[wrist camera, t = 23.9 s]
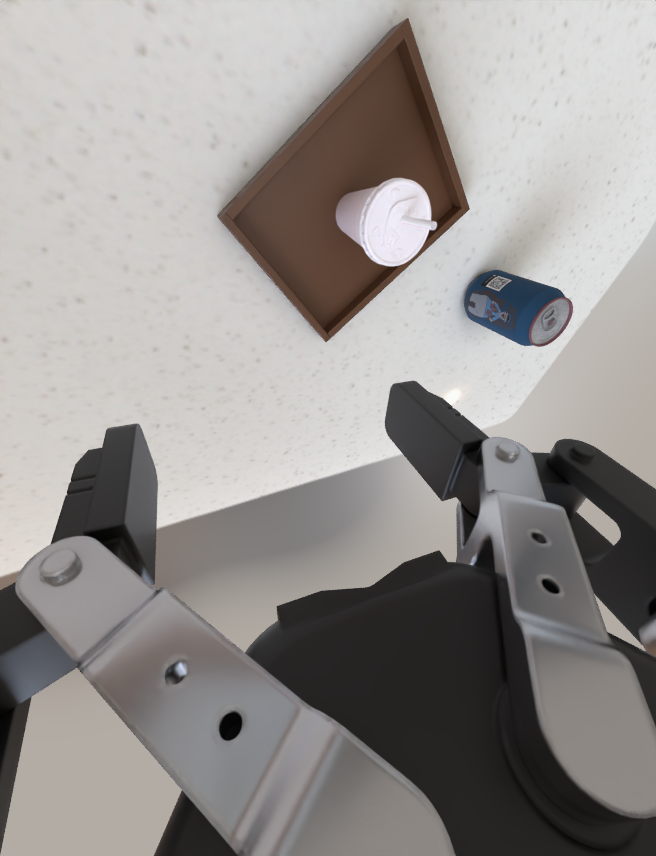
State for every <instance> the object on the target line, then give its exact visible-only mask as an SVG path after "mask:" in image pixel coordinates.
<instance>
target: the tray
mask: <svg viewBox="0 0 656 856" xmlns="http://www.w3.org/2000/svg"><path fill="white" fill-rule="evenodd" d="M392 178H404V179H409V180H412V181H415V182H416V183H418V184H419V185H420V186H421V187H422V188H423V189H424V190H425V192H426V193H427V196H428V198H429V201H430V205H431V221H435V222H436V223H437V227H436V229H435V230H429V233H428V236H427V238H426V240H425V242H424V244H423V246H422V248H421V249H420V250H419V252H418V253H417V254H416V255H415V256H414V257H413V258H412V259H411V260H409V261H408V262H406V263H404V264H402V265H399V266H385V265H381V264H378V263H376V262H374V261H373V260H371V259H370V257H369V256H368V255H367V254H366V253H365V251H364V248H363V247H362V246H360V245H359V244H358V243H357V242H355V241H354V240H353V239H352V238H350V237H349V236H348V235H347V234H346V233H344V232H343V231H342V230H341V229H340V228H339V226H338V224H337V221H336V208H337V205H338V203H339V201H340V200H341V198H342V197H343V196H344V195H346V194H348V193H351V192H355V191H360V190H364V189H369V188H373V187H377V186H379V185H380V184H382V183H383V182H385V181H387V180H390V179H392ZM468 210H469V205H468V202H467V199H466V196H465V193H464V190H463V187H462V184H461V181H460V177H459V174H458V171H457V168H456V165H455V162H454V159H453V156H452V153H451V149H450V146H449V143H448V140H447V137H446V134H445V131H444V128H443V125H442V121H441V118H440V115H439V112H438V109H437V106H436V103H435V100H434V97H433V94H432V90H431V87H430V84H429V81H428V78H427V75H426V72H425V69H424V66H423V62H422V59H421V56H420V53H419V50H418V47H417V44H416V41H415V38H414V34H413V31H412V28H411V25H410V22H409V19H408V18H407V19H406V20H404V21H402V22H401V23H399V24H398V25H396V26H394V27H393V28H392V29H391V30H390V31H389V32H388V33H387V34H386V36H385V37H384V38H383V39H382V40H381V41H380V42H379V43H378V44H377V45H376V46H375V47H374V48H373V49H372V51H371V52H370V53H369V54H368V55H367V56H366V57H365V58H364V59H363V60H362V61H361V62H360V63H359V64H358V66H357V67H356V68H355V69H354V70H353V71H352V72H351V73H350V74H349V75H348V76H347V77H346V78H345V79H344V81H343V82H342V83H341V84H340V85H339V86H338V87H337V88H336V89H335V90H334V91H333V92H332V93H331V95H330V96H329V97H328V98H327V99H326V100H325V101H324V102H323V103H322V104H321V105H320V106H319V107H318V108H317V110H316V111H315V112H314V113H313V114H312V115H311V116H310V117H309V118H308V119H307V120H306V121H305V122H304V123H303V125H302V126H301V127H300V128H299V129H298V130H297V131H296V132H295V133H294V134H293V135H292V136H291V137H290V138H289V140H288V141H287V142H286V143H285V144H284V145H283V146H282V147H281V148H280V149H279V150H278V151H277V152H276V153H275V155H274V156H273V157H272V158H271V159H270V160H269V161H268V162H267V163H266V164H265V165H264V166H263V167H262V168H261V170H260V171H259V172H258V173H257V174H256V175H255V176H254V177H253V178H252V179H251V180H250V181H249V182H248V184H247V185H246V186H245V187H244V188H243V189H242V190H241V191H240V192H239V193H238V194H237V195H236V196H235V197H234V199H233V200H232V201H231V202H230V203H229V204H228V205H227V206H226V207H225V208H224V209H223V210H222V211H221V212H220V214H219V215H218V218H219V219H220V220H221V221H222V223H223V224H224V225H225V226H226V227H227V228H228V230H229V231H230V232H231V233H232V234H233V235H234V236H235V238H236V239H237V240H238V241H239V242H240V243H241V245H242V246H243V247H244V248H245V249H246V250H247V252H248V253H249V254H250V255H251V256H252V257H253V259H254V260H255V261H256V262H257V263H258V264H259V265H260V267H261V268H262V269H263V270H264V271H265V272H266V274H267V275H268V276H269V277H270V278H271V279H272V281H273V282H274V283H275V284H276V285H277V286H278V288H279V289H280V290H281V291H282V292H283V293H284V294H285V296H286V297H287V298H288V299H289V300H290V301H291V303H292V304H293V305H294V306H295V307H296V308H297V310H298V311H299V312H300V313H301V314H302V315H303V316H304V318H305V319H306V320H307V321H308V322H309V323H310V325H311V326H312V327H313V328H314V329H315V330H316V332H317V333H318V334H319V335H320V336H321V337H322V338H323V339H324V341H325V342H327V341H328V340H329V339H330V338H331V337H333V336H334V335H335V334H336V333H337V332H338V331H339V330H340V329H341V328H342V327H343V326H344V325H345V324H347V323H348V322H349V321H350V320H351V319H352V318H353V317H354V316H355V315H356V314H357V313H358V312H359V311H361V310H362V309H363V308H364V307H365V306H366V305H367V304H368V303H369V302H370V301H371V300H372V299H373V298H375V297H376V296H377V295H378V294H379V293H380V292H381V291H382V290H383V289H384V288H385V287H386V286H387V285H389V284H390V283H391V282H392V281H393V280H394V279H395V278H396V277H397V276H398V275H399V274H400V273H401V272H403V271H404V270H405V269H406V268H407V267H408V266H409V265H410V264H411V263H412V262H413V261H414V260H415V259H417V258H418V257H419V256H420V255H421V254H422V253H423V252H424V251H425V250H426V249H427V248H428V247H429V246H431V245H432V244H433V243H434V242H435V241H436V240H437V239H438V238H439V237H440V236H441V235H442V234H443V233H445V232H446V231H447V230H448V229H449V228H450V227H451V226H452V225H453V224H454V223H455V222H456V221H457V220H459V219H460V218H461V217H462V216H463V215H464V214H465V213H466V212H467V211H468Z"/></svg>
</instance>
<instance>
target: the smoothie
mask: <svg viewBox="0 0 656 856" xmlns="http://www.w3.org/2000/svg"><path fill="white" fill-rule="evenodd" d="M336 221H337V224H338V226H339V228H340V229H341V230H342V231H343V232H344V233H346V234H347V235H348V236H349V237H350V238H352V239H353V240H354V241H355V242H357V243H358V244H359V245H360V246H362V247H363V248H364V251H365V253H366V254H367V255H368V256H369V257H370V259H371V260H373V261H374V262H376V263H378V264H381V265H385V266H399V265H402V264H404V263H406V262H408V261H409V260H411V259H412V258H413V257H414V256H415V255H416V254H417V253H418V252H419V250H420V249H421V248H422V246H423V244H424V242H425V240H426V238H427V236H428V233H429V230H435V229H436V227H437V223H436V222H435V221H431V205H430V201H429V198H428V196H427V193H426V192H425V190H424V189H423V188H422V187H421V186H420V185H419V184H418V183H416V182H415V181H412V180H409V179H404V178H392V179H390V180H387V181H385V182H383V183H382V184H380V185H379V186H377V187H373V188H369V189H364V190H360V191H355V192H351V193H348V194H346V195H344V196H343V197H342V198H341V200H340V201H339V203H338V205H337V208H336Z"/></svg>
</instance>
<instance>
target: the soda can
mask: <svg viewBox="0 0 656 856" xmlns="http://www.w3.org/2000/svg"><path fill="white" fill-rule="evenodd" d="M464 306H465V310H466V313H467V315H468V317H469V318H470V319H471V320H472V321H474V322H476V323H478V324H480V325H482V326H484V327H486V328H488V329H490V330H492V331H494V332H496V333H498V334H500V335H502V336H504V337H506V338H508V339H510V340H512V341H514V342H516V343H518V344H520V345H523V346H531V345H534V346H538V347H541V346H545V345H548V344H549V343H551V342H553V341H554V340H555V339H556V338H557V337H559V336H560V334H561V333H562V332H563V331H564V330H565V328H566V327H567V325H568V323H569V321H570V319H571V316H572V313H573V305H572V302H571V301H570V300H569V299H568V298H566V297H565V296H564V294H563V293H562V292H561V291H560V290H559V289H557V288H554V287H551V286H547V285H544V284H541V283H538V282H535V281H531V280H528V279H525V278H522V277H519V276H516V275H512V274H509V273H506V272H503V271H499V270H493V271H489V272H487V273H485V274H482V275H480V276H479V277H477V278H476V279H475V280H474V281H473V282H472V283H471V284H470V286H469V287H468V289H467V291H466V294H465V297H464Z"/></svg>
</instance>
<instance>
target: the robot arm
mask: <svg viewBox="0 0 656 856" xmlns="http://www.w3.org/2000/svg"><path fill="white" fill-rule="evenodd" d="M385 428H386V432H387V434H388V436H389V437H390V439H391V440H392V441H393V442H394V443H395V445H396V446H397V447H398V448H399V450H400V451H401V452H402V453H403V454H404V456H405V457H406V458H407V459H408V460H409V462H410V463H411V464H412V465H413V467H414V468H415V469H416V470H417V471H418V473H419V474H420V475H421V476H422V478H423V479H424V480H425V481H426V482H427V484H428V485H429V486H430V487H431V488H432V490H433V491H434V492H435V493H436V494H437V496H438V497H439V498H440V499H441V501H444V500H448V499H451V498H454V497H457V498H458V500H459V503H458V505H457V559H456V562H447V561H446V559H445V558H444V556H443V555H442V554H441V552H440V551H436V552H433V553H430V554H427V555H424V556H421V557H418V558H415V559H412V560H410V561H407V562H404V563H403V564H401V565H400V566H398V567H397V568H396V569H394V570H393V571H392V572H390V573H389V574H387V575H386V576H385V577H383V578H382V579H381V580H380V581H378V582H376V583H375V584H374V585H372V586H370V587H366V588H353V589H341V590H327V591H320V592H317V593H314V594H311V595H308V596H306V597H302V598H300V599H297V600H294V601H291V602H288V603H285V604H282V605H280V606H277V615H278V621H277V622H275V623H274V624H273V625H271V626H270V627H268V628H267V629H266V630H265V631H264V632H263V633H262V634H261V635H259V637H258V638H257V639H256V640H255V641H254V642H253V643H252V644H251V645H250V647H249V648H248V649H247V651H246V652H245V653H244V652H243V651H242V650H241V649H239V648H238V647H237V646H236V645H235V644H233V643H232V642H231V641H230V640H229V639H227V638H226V637H225V636H224V635H223V634H221V633H220V632H219V631H218V630H216V629H215V628H214V627H213V626H212V625H210V624H209V623H208V622H207V621H206V620H204V619H203V618H202V617H201V616H200V615H198V614H197V613H196V612H195V611H193V610H192V609H191V608H189V607H188V606H187V605H186V604H185V603H184V602H183V601H181V600H180V599H179V598H178V597H176V596H175V595H174V594H173V593H171V592H170V591H168V590H167V589H165V588H160V589H159V590H156V589H155V588H153V587H152V586H151V585H153V584H154V583H155V582H154V581H155V553H156V552H155V551H156V521H157V489H158V482H157V474H156V469H155V466H154V462H153V460H152V457H151V454H150V451H149V448H148V446H147V443H146V440H145V437H144V434H143V432H142V429H141V427H140V425H139V424H131V425H125V426H119V427H112V428H108V429H107V430H106V434H105V438H104V442H103V447H102V448H98V449H92V450H88V451H87V452H86V453H85V455H84V456H83V457H82V458H81V459H80V460H79V461H78V462H77V463H76V464H75V468H74V471H73V474H72V477H71V482H70V484H69V487H68V490H67V495H66V497H65V500H64V503H63V506H62V509H61V513H60V516H59V519H58V522H57V526H56V529H55V532H54V535H53V538H52V542H51V545H49V546H47V547H46V548H44V549H42V550H41V551H40V552H38V553H37V554H36V555H34V556H33V557H32V558H31V559H30V560H29V561H28V562H27V563H26V564H25V566H24V567H23V568H22V570H21V571H20V573H19V575H18V577H17V580H16V582H15V583H13V584H12V585H10V586H8V587H6V588H4V589H2V590H0V852H1V848H2V843H3V838H4V832H5V828H6V823H7V818H8V812H9V807H10V802H11V797H12V792H13V786H14V782H15V777H16V772H17V767H18V762H19V757H20V752H21V747H22V742H23V737H24V732H25V726H26V722H27V717H28V711H29V707H30V702H31V697H32V696H33V695H35V694H36V693H37V692H39V691H41V690H43V689H44V688H45V687H47V686H49V685H50V684H52V683H53V682H55V681H56V680H58V679H60V678H61V677H63V676H64V675H66V674H67V673H69V672H70V671H72V670H74V669H75V668H78V669H79V670H80V672H81V673H82V674H83V675H84V676H85V678H86V679H87V680H88V681H89V682H90V684H91V685H92V686H93V687H94V688H95V689H96V690H97V692H98V693H99V694H100V695H101V696H102V697H103V699H104V700H105V701H106V702H107V703H108V704H109V706H110V707H111V708H112V709H113V710H114V711H115V713H116V714H117V715H118V716H119V717H120V718H121V720H122V721H123V722H124V723H125V724H126V725H127V727H128V728H129V729H130V730H131V731H132V732H133V734H134V735H135V736H136V737H137V738H138V739H139V740H140V742H141V743H142V744H143V745H144V746H145V748H146V749H147V750H148V751H149V752H150V753H151V754H152V755H153V757H154V758H155V759H156V760H157V761H158V763H159V764H160V765H161V766H162V767H163V768H164V770H165V771H166V772H167V773H168V774H169V775H170V777H171V778H172V779H173V780H174V781H175V782H176V784H177V785H178V786H179V787H180V788H181V789H182V791H181V794H180V796H179V798H178V801H177V803H176V805H175V808H174V810H173V812H172V815H171V817H170V820H169V822H168V824H167V826H166V829H165V831H164V833H163V836H162V838H161V840H160V843H159V845H158V847H157V850H156V852H155V855H154V856H656V489H655V488H653V487H652V486H650V485H649V484H647V483H646V482H645V481H643V480H642V479H640V478H639V477H637V476H636V475H635V474H633V473H631V472H630V471H629V470H627V469H626V468H625V467H623V466H622V465H620V464H619V463H617V462H616V461H615V460H613V459H612V458H610V457H609V456H607V455H606V454H604V453H603V452H602V451H600V450H599V449H597V448H596V447H594V446H592V445H590V444H587V443H584V442H582V441H578V440H573V439H562V440H559V441H557V442H556V444H555V445H554V447H553V449H552V450H551V452H550V453H531V452H530V451H529V450H528V449H527V448H526V447H524V446H523V445H521V444H520V443H518V442H516V441H513V440H510V439H507V438H502V437H492V438H489V437H488V436H487V435H486V434H484V433H483V432H482V431H481V430H480V429H478V428H477V427H476V426H475V425H474V424H472V423H471V422H470V421H469V420H468V419H466V418H465V417H464V416H463V415H462V416H461V413H459V412H458V411H457V410H456V409H455V408H454V409H453V408H452V406H451V405H450V404H449V403H447V402H446V401H445V400H444V399H443V398H441V397H438V396H436V395H434V394H432V393H430V392H428V391H427V390H426V389H424V388H423V387H422V386H421V385H420V384H419V383H417V382H416V381H408V382H402V383H396V384H393V385H392V387H391V389H390V394H389V400H388V406H387V412H386V417H385ZM586 498H588V499H589V500H590V501H591V502H593V503H594V504H595V505H596V506H597V507H598V508H600V509H601V510H602V511H603V512H605V514H607V515H608V516H609V517H610V518H611V519H613V520H614V521H615V522H616V523H617V525H618V526H619V528H620V531H621V538H620V540H619V541H618V542H617V543H616V544H615V545H612V544H611V543H610V542H609V541H608V540H607V539H606V538H605V537H604V536H602V535H601V534H600V533H599V532H598V531H597V530H596V529H595V528H594V527H592V526H591V525H590V524H589V523H588V522H587V521H586V520H585V519H584V518H583V517H581V516H580V515H579V514H578V513H577V512H576V511H577V510H578V509H579V507H580V506H581V504H582V503H583V502H584V500H585V499H586ZM594 594H595V595H596V596H597V597H598V598H599V599H600V600H601V601H602V603H603V604H604V605H605V606H606V607H607V608H608V609H609V610H610V611H611V612H612V613H613V614H614V615H615V616H616V618H617V619H618V620H619V621H620V622H621V623H622V624H623V625H624V626H625V627H626V628H627V629H628V630H629V631H630V632H631V633H632V635H633V636H634V637H635V638H636V639H637V640H638V641H639V642H640V643H641V644H642V645H643V646H644V648H645V650H646V651H643V650H641V649H639V648H637V647H635V646H634V645H632V644H629V643H627V642H626V641H624V640H622V639H620V638H618V637H616V636H614V635H612V634H610V633H608V632H607V630H606V628H605V625H604V622H603V619H602V616H601V613H600V610H599V607H598V604H597V601H596V598H595V595H594Z"/></svg>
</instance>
